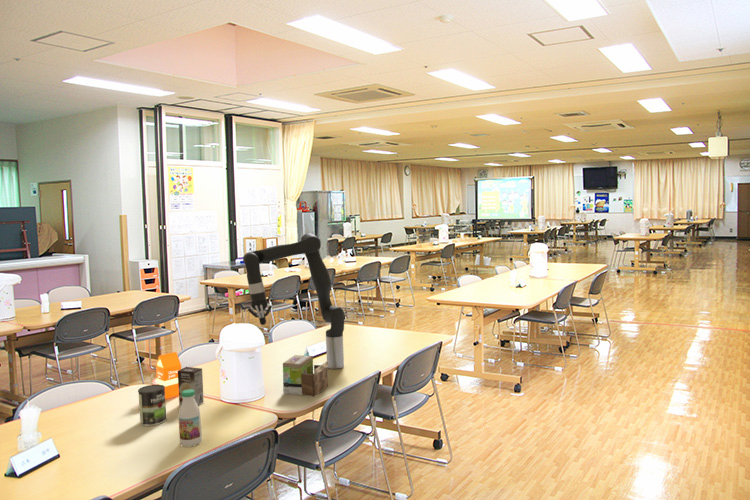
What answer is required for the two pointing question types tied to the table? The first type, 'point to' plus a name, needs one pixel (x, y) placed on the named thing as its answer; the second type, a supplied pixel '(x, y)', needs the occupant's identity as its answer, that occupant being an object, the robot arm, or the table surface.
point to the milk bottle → (189, 420)
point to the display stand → (315, 380)
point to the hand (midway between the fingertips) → (263, 324)
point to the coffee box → (191, 383)
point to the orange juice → (168, 373)
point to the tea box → (296, 373)
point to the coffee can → (152, 405)
